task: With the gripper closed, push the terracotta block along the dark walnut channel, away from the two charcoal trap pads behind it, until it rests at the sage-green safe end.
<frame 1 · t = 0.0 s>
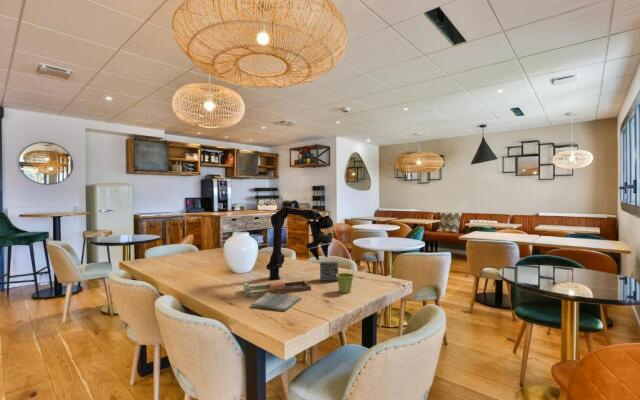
hand: (322, 258, 176), 15 cm above the table, tool pointing down, fingers open, 9 cm apart
dish towel: (277, 304, 150), on the table
small box: (329, 280, 189), on the table
plant pot: (345, 292, 166), on the table
block: (277, 290, 170), on the table
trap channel: (277, 290, 170), on the table
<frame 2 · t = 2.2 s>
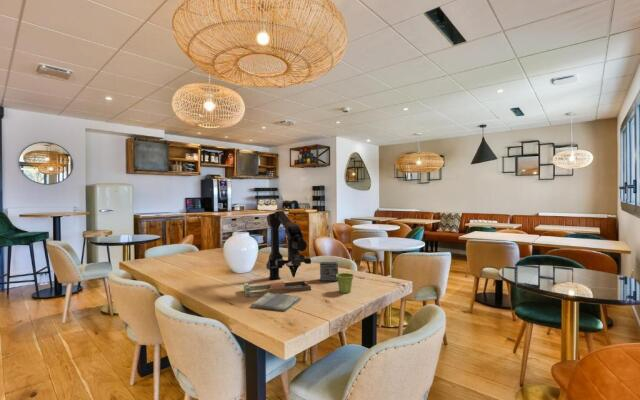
hand: (293, 277, 173), 6 cm above the table, tool pointing down, fingers closed
nothing on the table moved.
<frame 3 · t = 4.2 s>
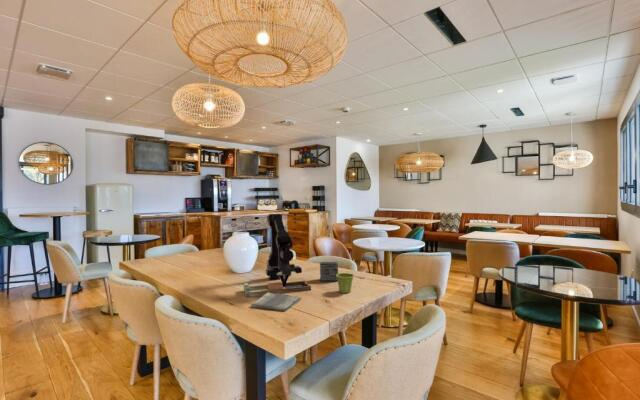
hand: (284, 286, 171), 2 cm above the table, tool pointing down, fingers closed
block: (275, 291, 169), on the table, touching gripper
everything else where it was.
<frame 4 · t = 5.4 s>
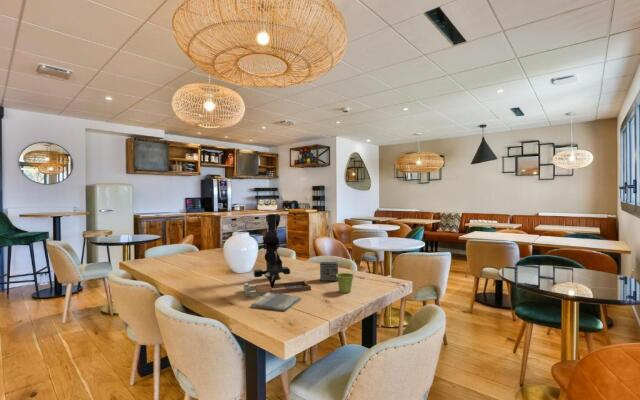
hand: (272, 287, 169), 2 cm above the table, tool pointing down, fingers closed
block: (263, 293, 166), on the table, touching gripper
everything else where it was.
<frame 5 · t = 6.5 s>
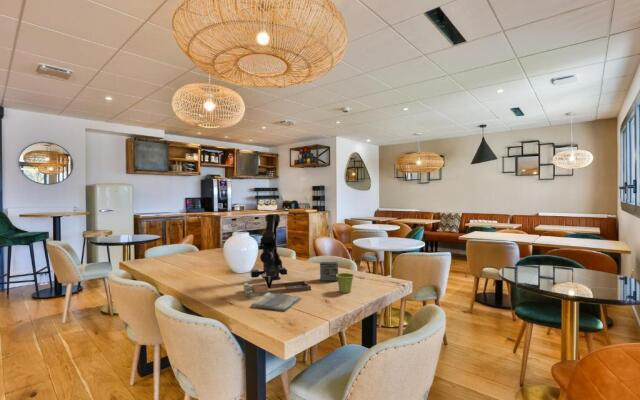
hand: (269, 288, 168), 2 cm above the table, tool pointing down, fingers closed
block: (260, 293, 166), on the table
everything else where it was.
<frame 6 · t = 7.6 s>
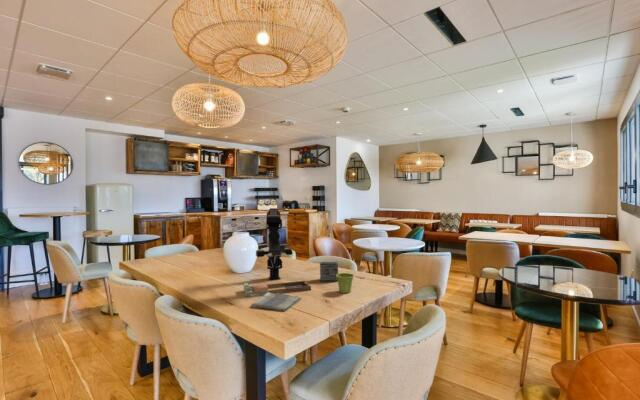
hand: (274, 268, 169), 12 cm above the table, tool pointing down, fingers closed
nothing on the table moved.
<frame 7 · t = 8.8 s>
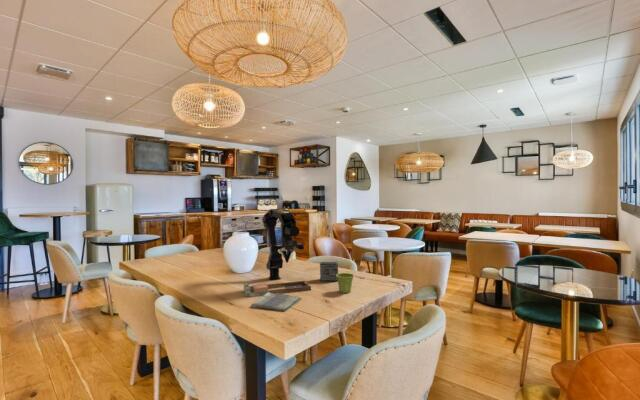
hand: (287, 262, 179), 13 cm above the table, tool pointing down, fingers closed
nothing on the table moved.
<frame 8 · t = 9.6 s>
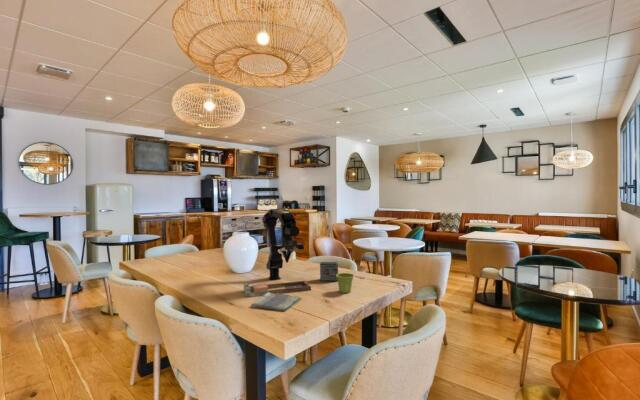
hand: (287, 262, 179), 13 cm above the table, tool pointing down, fingers closed
nothing on the table moved.
at the end: block 1.3 cm from the target spot, on the table; block tilted 0° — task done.
